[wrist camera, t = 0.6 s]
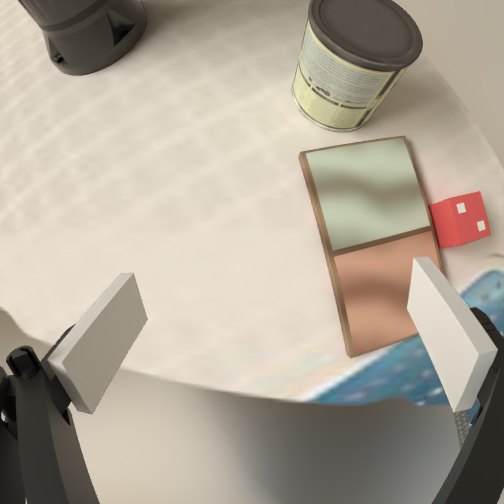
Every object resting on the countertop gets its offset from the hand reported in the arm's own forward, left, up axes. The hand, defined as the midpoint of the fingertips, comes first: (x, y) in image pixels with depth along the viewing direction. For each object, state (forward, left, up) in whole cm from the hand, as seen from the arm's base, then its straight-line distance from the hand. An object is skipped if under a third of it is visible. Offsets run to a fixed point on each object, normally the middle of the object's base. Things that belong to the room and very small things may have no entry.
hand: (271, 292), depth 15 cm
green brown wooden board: (-1, +14, -19) cm, 23 cm away
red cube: (-1, +24, -19) cm, 30 cm away
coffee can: (-19, +14, -19) cm, 30 cm away
